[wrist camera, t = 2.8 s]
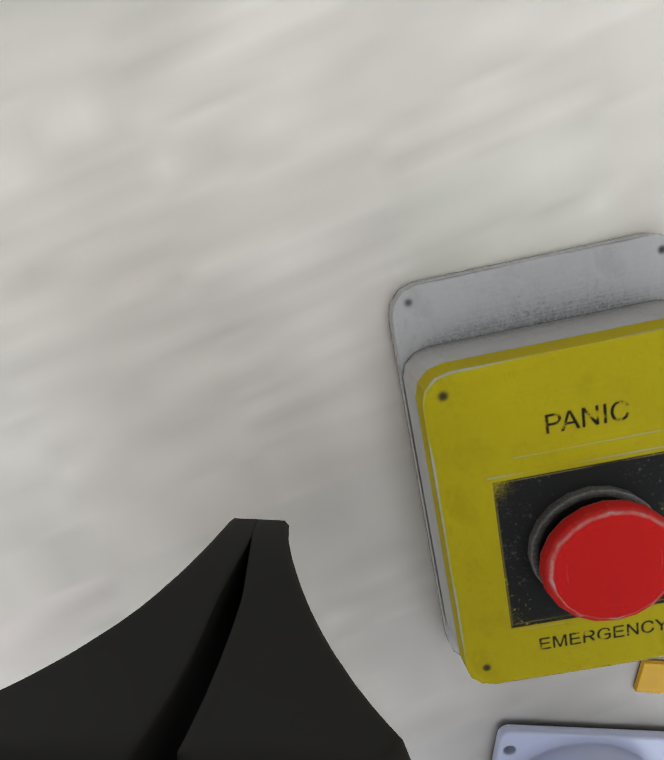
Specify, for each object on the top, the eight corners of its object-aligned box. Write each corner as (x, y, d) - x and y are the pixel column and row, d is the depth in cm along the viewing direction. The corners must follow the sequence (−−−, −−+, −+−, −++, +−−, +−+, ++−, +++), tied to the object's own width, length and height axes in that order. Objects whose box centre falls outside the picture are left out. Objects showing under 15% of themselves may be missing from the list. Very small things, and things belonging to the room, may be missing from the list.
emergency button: (479, 760, 15) (401, 304, 11) (448, 649, 20) (383, 288, 16) (776, 715, 15) (803, 220, 11) (678, 611, 19) (672, 226, 15)
